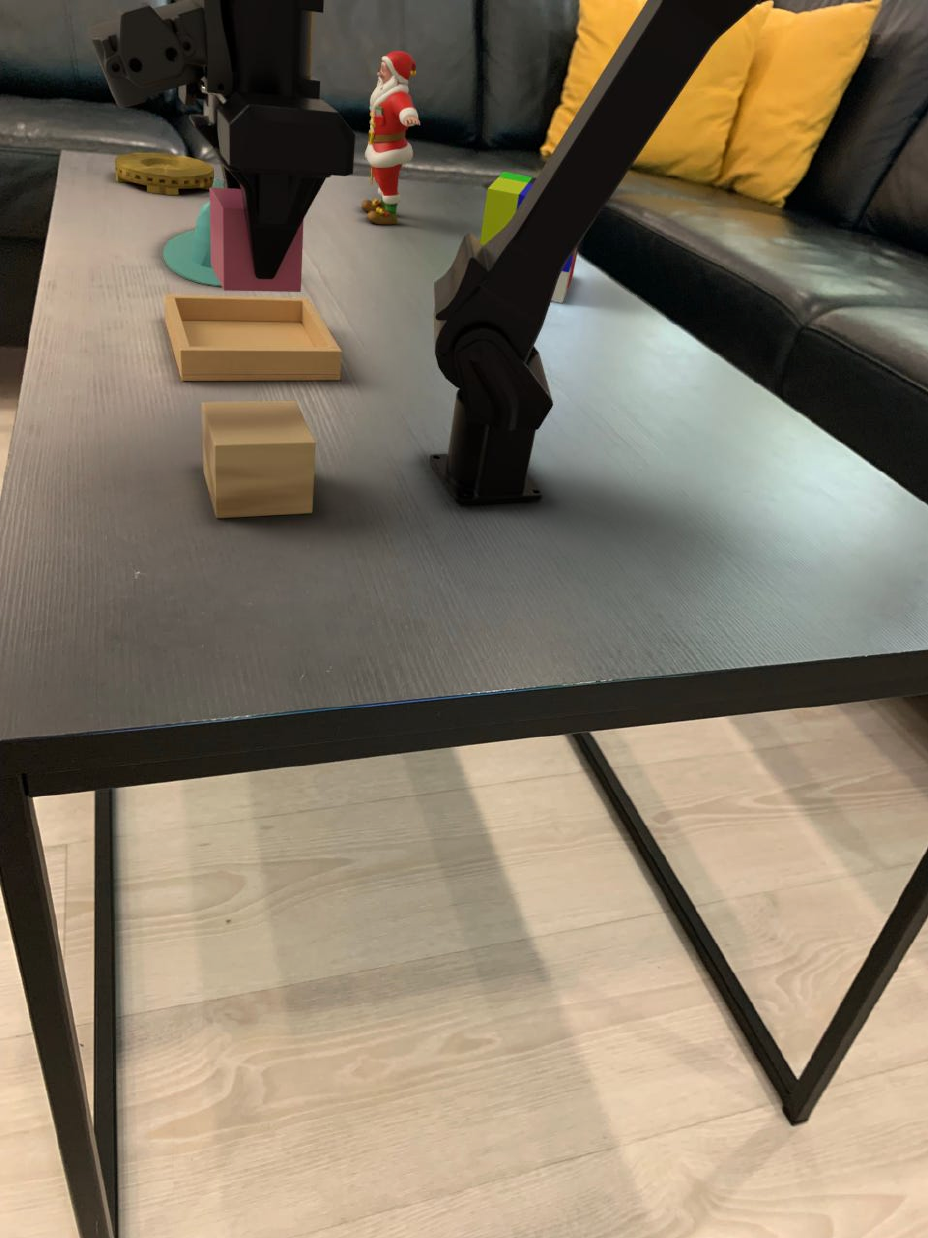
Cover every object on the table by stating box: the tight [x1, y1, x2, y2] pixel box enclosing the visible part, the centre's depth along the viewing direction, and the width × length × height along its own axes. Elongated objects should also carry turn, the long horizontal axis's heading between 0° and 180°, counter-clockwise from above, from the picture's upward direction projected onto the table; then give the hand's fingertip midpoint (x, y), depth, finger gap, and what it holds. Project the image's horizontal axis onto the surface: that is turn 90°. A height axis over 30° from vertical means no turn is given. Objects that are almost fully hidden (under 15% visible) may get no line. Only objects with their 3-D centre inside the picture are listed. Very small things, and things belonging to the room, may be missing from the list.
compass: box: [114, 152, 215, 196], centre depth 119 cm, size 12×12×2 cm
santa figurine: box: [361, 50, 421, 226], centre depth 116 cm, size 25×6×19 cm, turn 12°
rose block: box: [209, 187, 305, 293], centre depth 56 cm, size 5×5×5 cm
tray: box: [163, 293, 343, 382], centre depth 79 cm, size 13×13×2 cm
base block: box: [201, 400, 317, 519], centre depth 59 cm, size 6×6×5 cm
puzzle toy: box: [479, 171, 580, 304], centre depth 104 cm, size 10×10×10 cm
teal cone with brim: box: [162, 177, 225, 287], centre depth 97 cm, size 12×20×9 cm, turn 7°
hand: (256, 264), depth 57 cm, fingers closed on rose block, 4 cm apart
